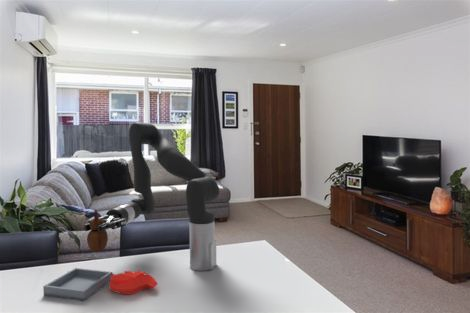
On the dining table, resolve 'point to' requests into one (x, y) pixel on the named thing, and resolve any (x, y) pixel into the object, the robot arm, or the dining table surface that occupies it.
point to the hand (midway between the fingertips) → (92, 228)
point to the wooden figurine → (96, 235)
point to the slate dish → (78, 284)
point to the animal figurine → (131, 282)
